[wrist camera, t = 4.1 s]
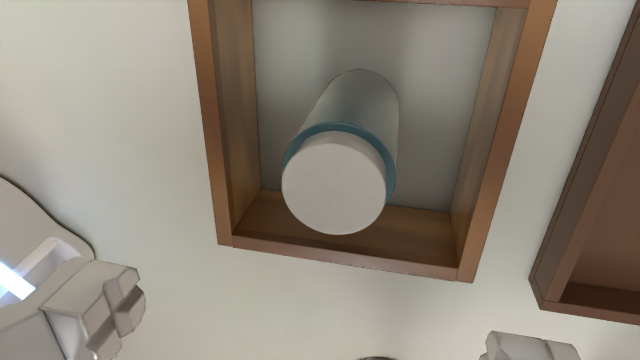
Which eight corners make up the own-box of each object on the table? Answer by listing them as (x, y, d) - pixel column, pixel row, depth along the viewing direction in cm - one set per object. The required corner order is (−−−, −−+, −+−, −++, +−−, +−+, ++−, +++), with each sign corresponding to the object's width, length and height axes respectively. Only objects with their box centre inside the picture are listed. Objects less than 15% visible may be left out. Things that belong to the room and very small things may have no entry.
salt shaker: (394, 149, 23) (387, 249, 15) (319, 141, 23) (274, 233, 15) (404, 72, 20) (403, 142, 13) (322, 66, 21) (271, 128, 13)
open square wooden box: (460, 225, 24) (473, 285, 20) (249, 197, 26) (217, 245, 22) (524, -24, 17) (564, -19, 13) (233, -35, 20) (182, -34, 15)
